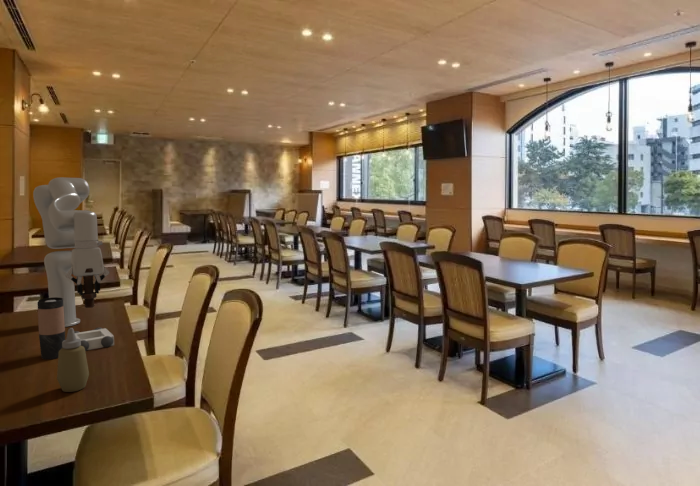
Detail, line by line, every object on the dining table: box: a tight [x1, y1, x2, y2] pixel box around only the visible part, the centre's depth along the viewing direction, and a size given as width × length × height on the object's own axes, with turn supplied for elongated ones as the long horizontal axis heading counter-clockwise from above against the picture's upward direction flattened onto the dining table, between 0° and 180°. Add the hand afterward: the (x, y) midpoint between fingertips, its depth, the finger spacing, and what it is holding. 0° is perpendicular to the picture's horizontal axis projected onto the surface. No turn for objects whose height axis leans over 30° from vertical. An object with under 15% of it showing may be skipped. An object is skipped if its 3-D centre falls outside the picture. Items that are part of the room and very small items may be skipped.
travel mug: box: [36, 297, 66, 360], centre depth 162 cm, size 8×8×20 cm
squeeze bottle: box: [56, 327, 90, 393], centre depth 135 cm, size 8×8×18 cm
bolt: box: [81, 268, 98, 309], centre depth 173 cm, size 6×5×15 cm
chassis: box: [74, 327, 115, 352], centre depth 175 cm, size 15×13×4 cm
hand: (88, 293), depth 173 cm, fingers closed on bolt, 4 cm apart
